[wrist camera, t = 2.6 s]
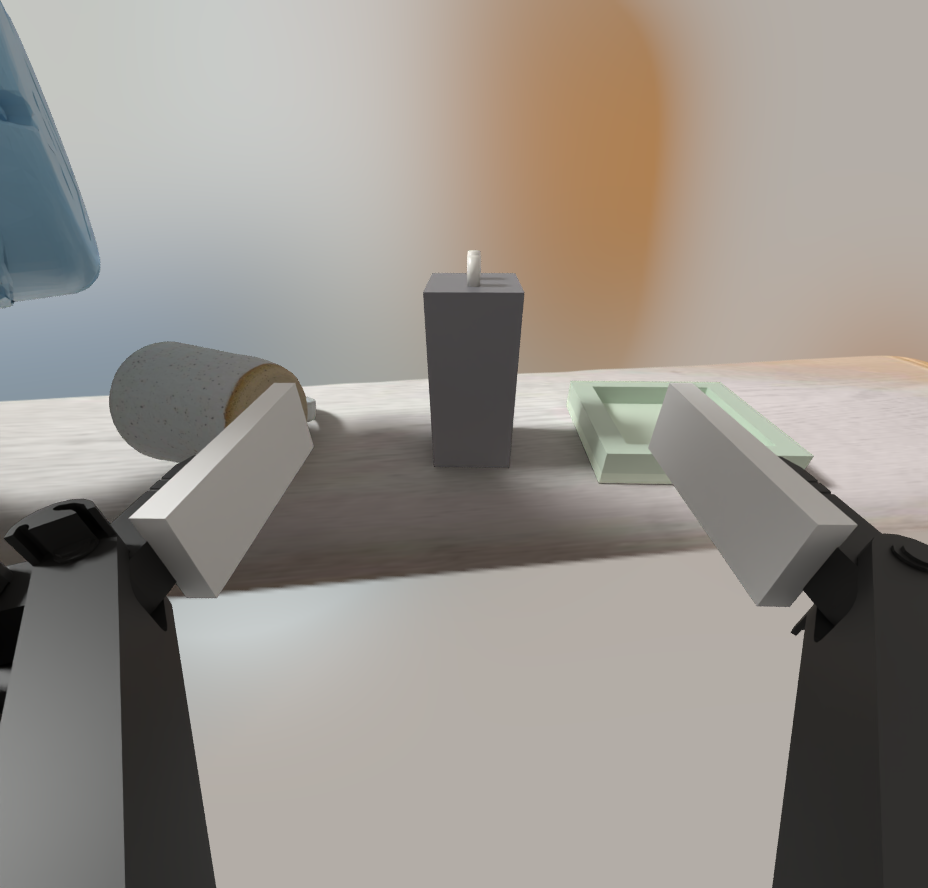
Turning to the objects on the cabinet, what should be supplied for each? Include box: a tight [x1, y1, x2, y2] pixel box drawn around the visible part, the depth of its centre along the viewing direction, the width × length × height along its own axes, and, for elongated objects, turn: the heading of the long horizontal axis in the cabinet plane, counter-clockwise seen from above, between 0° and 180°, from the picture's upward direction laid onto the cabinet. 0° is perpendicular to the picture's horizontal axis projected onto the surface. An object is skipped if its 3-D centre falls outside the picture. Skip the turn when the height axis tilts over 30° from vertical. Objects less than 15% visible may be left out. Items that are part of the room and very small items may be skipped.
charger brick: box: [423, 250, 524, 468], centre depth 23 cm, size 5×5×12 cm
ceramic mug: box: [109, 342, 316, 463], centre depth 25 cm, size 11×8×8 cm
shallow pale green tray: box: [566, 381, 814, 484], centre depth 26 cm, size 12×10×2 cm
